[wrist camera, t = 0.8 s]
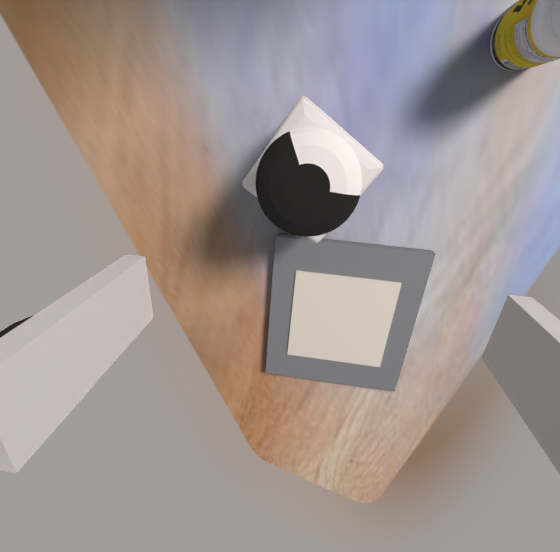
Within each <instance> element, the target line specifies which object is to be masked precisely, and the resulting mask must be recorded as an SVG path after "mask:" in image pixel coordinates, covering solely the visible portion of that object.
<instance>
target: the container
mask: <svg viewBox="0 0 560 552" xmlns="http://www.w3.org/2000/svg"><path fill="white" fill-rule="evenodd" d="M382 169H383V164H382V163H381V162H380V161H379V160H378V159H377V158H375V157H374V156H373V155H372V154H371V153H370V152H369V151H368V150H366V149H365V148H364V147H363V146H362V145H361V144H360V143H358V142H357V141H356V140H355V139H354V138H353V137H352V136H350V135H349V134H348V133H347V132H346V131H345V130H344V129H342V128H341V127H340V126H339V125H338V124H337V123H336V122H334V121H333V120H332V119H331V118H330V117H329V116H328V115H326V114H325V113H324V112H323V111H322V110H321V109H320V108H318V107H317V106H316V105H315V104H314V103H313V102H312V101H310V100H309V99H308V98H307V97H305V96H304V97H301V98H300V99H299V100H298V101H297V103H296V104H295V105H294V107H293V108H292V110H291V111H290V113H289V114H288V116H287V117H286V119H285V120H284V122H283V123H282V125H281V126H280V127H279V129H278V130H277V132H276V133H275V135H274V136H273V138H272V139H271V141H270V142H269V144H268V145H267V146H266V148H265V149H264V151H263V152H262V154H261V155H260V157H259V158H258V160H257V161H256V163H255V164H254V166H253V167H252V168H251V170H250V171H249V173H248V174H247V176H246V177H245V179H244V180H243V183H242V184H243V187H244V188H245V189H246V190H248V191H249V192H250V193H251V194H253V195H254V196H255V197H257V198H258V201H259V203H260V206H261V208H262V210H263V211H264V213H265V215H266V216H267V217H268V218H269V220H270V221H271V222H272V223H274V224H275V225H276V226H277V227H279V228H280V229H282V230H284V231H286V232H288V233H290V234H293V235H298V236H305V237H307V238H309V239H310V240H311V241H313V242H314V243H318V242H320V241H321V240H322V238H323V237H324V236H325V235H326V234H327V233H328V232H330V231H332V230H334V229H336V228H337V227H339V226H340V225H341V224H342V223H344V222H345V221H346V220H347V219H348V217H349V216H350V215H351V214H352V212H353V211H354V209H355V207H356V205H357V203H358V201H359V198H360V195H361V194H362V193H363V192H364V191H365V189H366V188H367V187H368V186H369V185H370V184H371V183H372V181H373V180H374V179H375V178H376V177H377V176H378V175H379V173H380V172H381V171H382Z"/></svg>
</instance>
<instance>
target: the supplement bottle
mask: <svg viewBox="0 0 560 552" xmlns="http://www.w3.org/2000/svg"><path fill="white" fill-rule="evenodd" d="M490 51H491V55H492V58H493V60H494V61H495V63H496V64H497V65H498V66H499V67H500V68H502V69H504V70H507V71H521V70H525V69H529V68H532V67H535V66H538V65H541V64H544V63H547V62H551V61H554V60H557V59H560V0H519V1H518V2H516V3H515V4H514V5H512V6H511V7H510V8H509V9H508V10H507V11H506V12H505V13H504V14H503V15H502V16H501V17H500V19H499V20H498V22H497V23H496V25H495V27H494V29H493V32H492V35H491V40H490Z"/></svg>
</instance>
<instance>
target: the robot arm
mask: <svg viewBox="0 0 560 552" xmlns="http://www.w3.org/2000/svg"><path fill="white" fill-rule="evenodd" d="M152 319H153V311H152V304H151V297H150V289H149V282H148V274H147V267H146V260H145V256H135V255H125V256H123V257H122V258H120V259H118V260H117V261H115V262H114V263H112V264H111V265H109V266H108V267H106V268H105V269H104V270H102V271H100V272H99V273H97V274H96V275H94V276H93V277H91V278H90V279H88V280H87V281H85V282H84V283H82V284H81V285H79V286H78V287H76V288H75V289H73V290H72V291H70V292H69V293H67V294H66V295H64V296H63V297H61V298H60V299H58V300H57V301H55V302H54V303H52V304H51V305H49V306H48V307H46V308H45V309H43V310H42V311H40V312H39V313H37V314H35V315H33V316H31V317H28V318H26V319H23V320H21V321H19V322H16V323H14V324H12V325H10V326H9V327H7V328H6V329H4V330H3V331H1V332H0V470H2V471H8V472H14V473H17V472H18V471H19V470H20V469H21V468H22V466H23V465H24V464H25V463H26V462H27V461H28V460H29V458H30V457H31V456H32V455H33V454H34V453H35V452H36V450H37V449H38V448H39V447H40V446H41V445H42V444H43V443H44V441H45V440H46V439H47V438H48V437H49V436H50V435H51V433H52V432H53V431H54V430H55V429H56V428H57V427H58V425H59V424H60V423H61V422H62V421H63V420H64V419H65V417H66V416H67V415H68V414H69V413H70V412H71V411H72V410H73V408H74V407H75V406H76V405H77V404H78V403H79V402H80V400H81V399H82V398H83V397H84V396H85V395H86V394H87V392H88V391H89V390H90V389H91V388H92V387H93V386H94V384H95V383H96V382H97V381H98V380H99V378H101V377H102V375H103V374H104V373H105V372H106V371H107V370H108V369H109V367H110V366H111V365H112V364H113V363H114V362H115V361H116V360H117V358H118V357H119V356H120V355H121V354H122V352H124V350H125V349H126V348H127V347H128V346H129V345H130V344H131V342H132V341H133V340H134V339H135V338H136V337H137V336H138V334H139V333H140V332H141V331H142V330H143V329H144V328H145V327H146V325H147V324H148V323H149V322H150V321H151V320H152ZM482 359H483V360H484V362H485V363H486V365H487V366H488V368H489V369H490V371H491V372H492V374H493V375H494V377H495V378H496V380H497V381H498V383H499V384H500V386H501V387H502V389H503V390H504V392H505V393H506V395H507V396H508V398H509V399H510V401H511V402H512V404H513V405H514V407H515V408H516V410H517V411H518V413H519V414H520V416H521V417H522V419H523V420H524V422H525V423H526V425H527V426H528V428H529V429H530V430H531V432H532V434H533V435H534V436H535V438H536V440H537V441H538V443H539V444H540V445H541V447H542V448H543V450H544V451H545V453H546V454H547V456H548V457H549V459H550V460H551V462H552V463H553V465H554V466H555V468H556V469H557V471H558V472H559V474H560V321H559V320H558V319H557V318H556V317H555V316H553V315H552V314H551V313H550V312H549V311H547V310H546V309H545V308H544V307H543V306H541V305H540V304H539V303H538V302H537V301H535V300H534V299H533V298H532V297H523V296H514V295H508V297H507V299H506V302H505V304H504V307H503V309H502V311H501V314H500V316H499V318H498V321H497V323H496V325H495V328H494V330H493V332H492V335H491V337H490V340H489V342H488V344H487V347H486V349H485V351H484V354H483V356H482Z"/></svg>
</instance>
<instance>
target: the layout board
mask: <svg viewBox="0 0 560 552" xmlns="http://www.w3.org/2000/svg"><path fill="white" fill-rule="evenodd" d="M434 256H435V253H434V252H433V251H431V250H422V249H413V248H404V247H395V246H385V245H376V244H367V243H358V242H349V241H340V240H331V239H322V240H321V241H320V242H318V243H314V242H313V241H311V240H310V239H309V238H307V237H303V236H294V235H285V234H276V236H275V249H274V263H273V277H272V290H271V304H270V317H269V331H268V345H267V358H266V372H265V373H268V374H275V375H282V376H289V377H296V378H303V379H310V380H317V381H324V382H331V383H338V384H345V385H352V386H359V387H365V388H372V389H379V390H386V391H393V392H395V388H396V385H397V381H398V378H399V375H400V371H401V368H402V365H403V361H404V358H405V354H406V351H407V348H408V344H409V341H410V338H411V334H412V331H413V327H414V324H415V321H416V317H417V314H418V311H419V307H420V304H421V300H422V297H423V294H424V290H425V287H426V284H427V280H428V277H429V273H430V270H431V267H432V263H433V260H434Z"/></svg>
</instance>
